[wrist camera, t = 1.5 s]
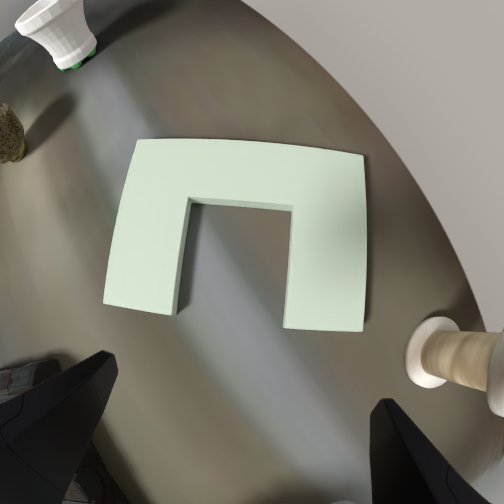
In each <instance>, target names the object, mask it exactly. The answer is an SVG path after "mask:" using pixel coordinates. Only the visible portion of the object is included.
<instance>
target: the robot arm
mask: <svg viewBox="0 0 504 504" xmlns="http://www.w3.org/2000/svg"><path fill="white" fill-rule="evenodd" d="M117 375H118V367H117V363H116V359H115V355H114V354H113V353H111V352H109V351H106V350H102V351H100V352H98V353H96V354H94V355H92V356H90V357H89V358H87V359H85V360H83V361H81V362H79V363H78V364H76V365H74V366H72V367H70V368H68V369H67V370H65V371H63V372H61V373H59V374H57V375H55V376H54V377H52V378H50V379H48V380H46V381H44V382H42V383H41V384H39V385H37V386H35V387H33V388H31V389H29V390H27V391H26V392H25V393H22V394H20V395H18V396H16V397H14V398H12V399H10V400H8V401H6V402H3V403H1V404H0V504H62V502H63V500H64V497H65V494H66V492H67V490H68V487H69V485H70V483H71V480H72V478H73V476H74V474H75V471H76V469H77V467H78V465H79V462H80V460H81V458H82V456H83V454H84V451H85V449H86V447H87V445H88V443H89V441H90V439H91V437H92V434H93V432H94V430H95V428H96V426H97V424H98V422H99V420H100V418H101V416H102V414H103V412H104V410H105V407H106V405H107V402H108V399H109V396H110V394H111V391H112V388H113V385H114V383H115V380H116V378H117ZM370 468H371V484H372V504H491V503H490V502H488V501H487V500H486V499H484V497H482V496H481V495H480V494H479V493H478V492H477V491H476V490H475V489H474V488H473V487H471V486H470V485H469V484H468V483H467V482H466V481H465V480H464V479H463V478H462V477H461V476H460V475H459V474H458V472H457V471H456V470H455V469H454V468H453V467H452V466H451V465H450V464H449V462H448V461H447V460H446V459H445V458H444V457H443V455H442V454H441V453H440V452H439V451H438V450H437V448H436V447H435V446H434V445H433V444H432V443H431V442H430V440H429V439H428V438H427V437H426V436H425V435H424V434H423V432H422V431H421V430H420V429H419V428H418V427H417V426H416V424H415V423H414V422H413V421H412V420H411V419H410V418H409V416H408V415H407V414H406V413H405V412H404V411H403V410H402V408H401V407H400V406H399V405H398V404H397V403H396V402H395V401H394V400H393V399H392V398H383V399H381V400H380V401H379V402H378V404H377V405H376V406H375V408H374V409H373V411H372V412H371V415H370Z"/></svg>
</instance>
